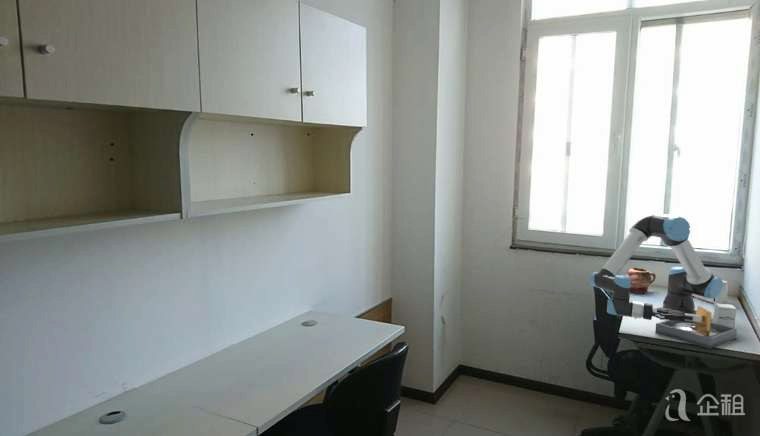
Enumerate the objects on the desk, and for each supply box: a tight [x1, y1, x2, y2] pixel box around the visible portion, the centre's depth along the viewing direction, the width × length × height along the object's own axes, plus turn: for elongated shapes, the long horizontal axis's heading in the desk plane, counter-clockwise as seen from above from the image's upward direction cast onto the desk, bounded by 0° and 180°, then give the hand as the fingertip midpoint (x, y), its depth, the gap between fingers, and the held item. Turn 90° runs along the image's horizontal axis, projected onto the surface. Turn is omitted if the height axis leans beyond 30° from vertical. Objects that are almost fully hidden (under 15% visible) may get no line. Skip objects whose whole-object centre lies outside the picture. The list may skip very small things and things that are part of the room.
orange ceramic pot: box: [625, 267, 657, 294], centre depth 313 cm, size 20×12×14 cm, turn 104°
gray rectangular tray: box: [654, 320, 738, 349], centre depth 238 cm, size 24×24×4 cm
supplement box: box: [712, 303, 737, 328], centre depth 244 cm, size 7×7×13 cm
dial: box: [674, 306, 717, 338], centre depth 237 cm, size 18×17×12 cm
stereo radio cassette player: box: [692, 279, 729, 305], centre depth 296 cm, size 21×8×20 cm, turn 13°
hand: (701, 318), depth 232 cm, fingers closed
